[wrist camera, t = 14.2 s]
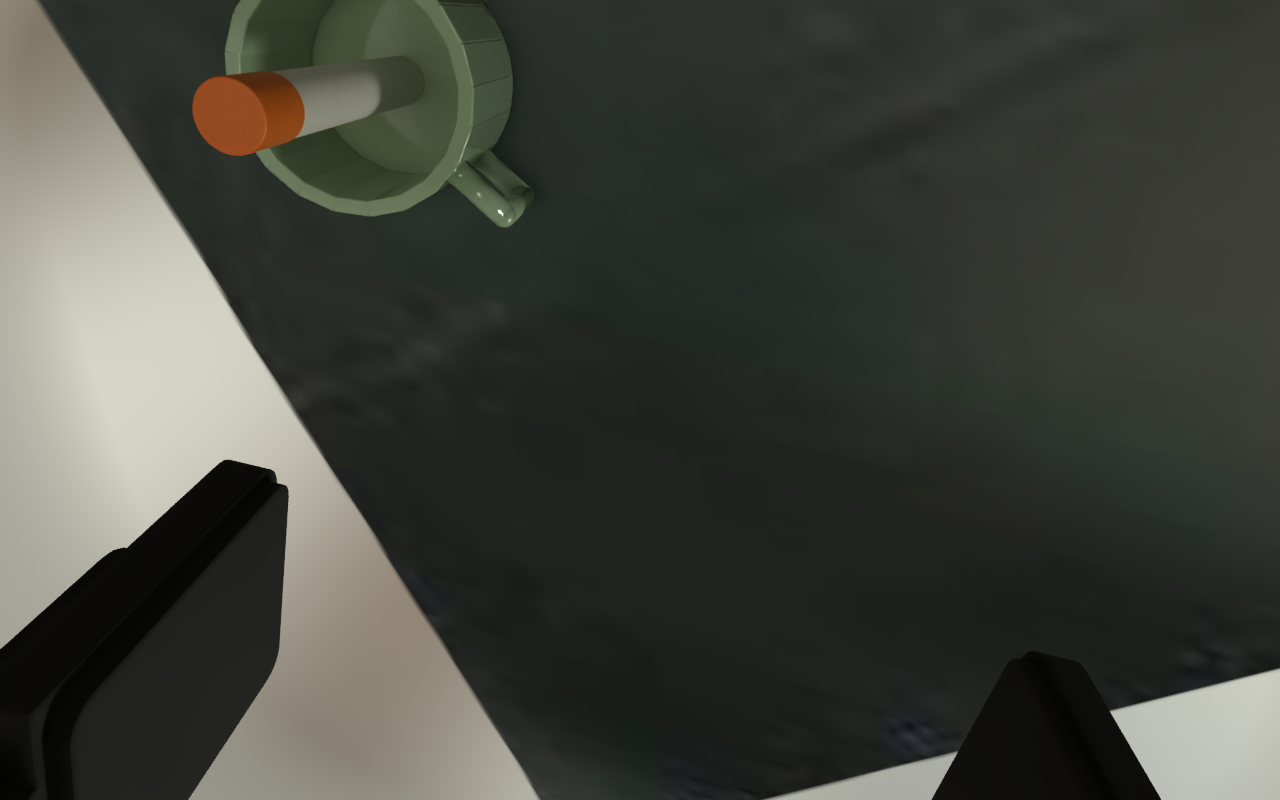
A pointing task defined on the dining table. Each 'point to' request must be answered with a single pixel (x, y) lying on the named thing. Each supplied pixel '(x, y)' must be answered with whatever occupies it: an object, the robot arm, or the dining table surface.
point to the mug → (403, 137)
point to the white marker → (299, 101)
